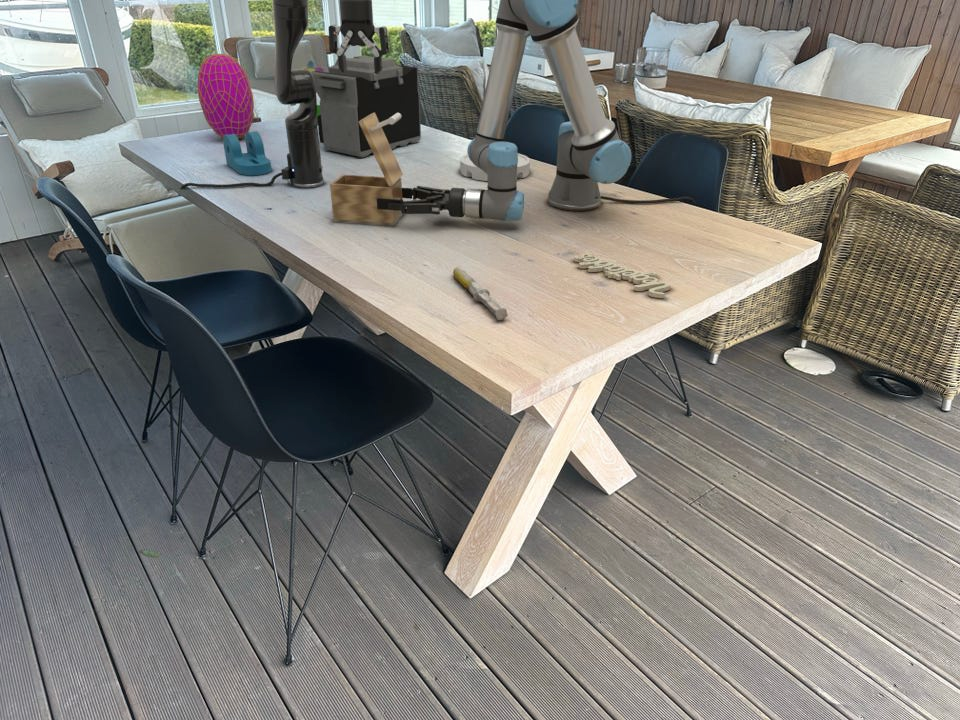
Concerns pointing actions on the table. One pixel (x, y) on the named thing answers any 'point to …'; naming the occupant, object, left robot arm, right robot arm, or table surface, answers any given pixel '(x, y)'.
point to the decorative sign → (625, 274)
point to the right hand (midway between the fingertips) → (383, 197)
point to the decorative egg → (225, 95)
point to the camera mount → (246, 154)
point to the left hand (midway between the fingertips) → (360, 72)
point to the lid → (382, 146)
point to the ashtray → (476, 173)
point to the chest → (364, 200)
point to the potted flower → (311, 68)
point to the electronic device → (367, 104)
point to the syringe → (479, 293)
